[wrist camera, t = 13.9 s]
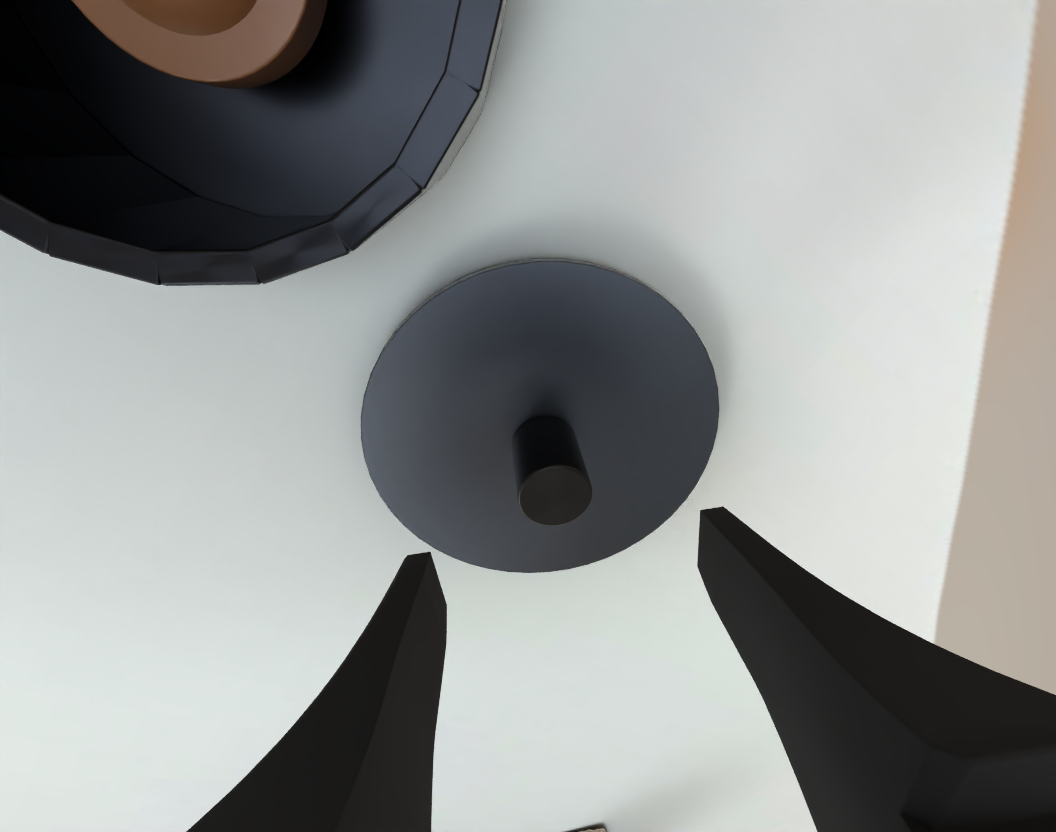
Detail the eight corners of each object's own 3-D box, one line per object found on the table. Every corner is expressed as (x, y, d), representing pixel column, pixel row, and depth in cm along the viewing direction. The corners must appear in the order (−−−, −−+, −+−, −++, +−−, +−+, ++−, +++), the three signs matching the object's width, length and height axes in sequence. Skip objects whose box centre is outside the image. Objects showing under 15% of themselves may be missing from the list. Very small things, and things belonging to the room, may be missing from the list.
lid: (447, 587, 23) (440, 673, 19) (297, 329, 17) (243, 382, 13) (725, 504, 22) (775, 579, 18) (679, 196, 15) (742, 211, 12)
